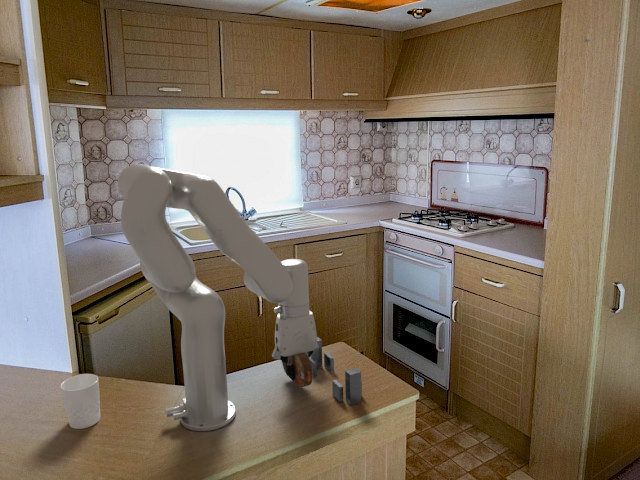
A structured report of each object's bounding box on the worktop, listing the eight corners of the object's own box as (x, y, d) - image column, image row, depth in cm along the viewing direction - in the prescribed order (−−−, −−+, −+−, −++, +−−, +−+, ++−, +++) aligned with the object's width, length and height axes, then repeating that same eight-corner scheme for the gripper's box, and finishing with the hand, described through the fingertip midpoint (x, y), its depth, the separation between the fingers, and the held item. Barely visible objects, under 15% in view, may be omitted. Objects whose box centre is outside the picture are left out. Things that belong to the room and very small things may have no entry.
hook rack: (344, 407, 123) (344, 376, 121) (303, 367, 143) (302, 340, 142) (366, 400, 126) (366, 370, 124) (323, 362, 146) (323, 335, 144)
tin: (281, 368, 139) (278, 340, 137) (292, 365, 140) (289, 337, 138) (304, 394, 126) (301, 363, 124) (315, 390, 127) (313, 359, 125)
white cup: (103, 408, 125) (98, 371, 122) (102, 426, 117) (97, 386, 115) (67, 416, 122) (62, 377, 120) (64, 434, 115) (58, 393, 112)
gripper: (269, 319, 122) (272, 390, 126) (329, 307, 129) (331, 374, 133) (258, 309, 128) (262, 377, 132) (316, 298, 135) (318, 363, 139)
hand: (296, 375), depth 133 cm, fingers closed on tin, 2 cm apart
